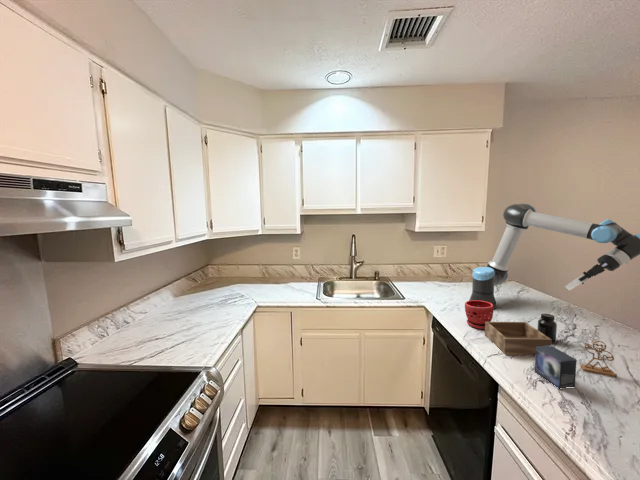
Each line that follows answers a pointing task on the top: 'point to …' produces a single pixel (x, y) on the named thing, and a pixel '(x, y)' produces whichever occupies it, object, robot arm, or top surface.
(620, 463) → the top surface
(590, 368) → the gingerbread man figurine
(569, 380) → the small box
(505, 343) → the walnut box
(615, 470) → the top surface
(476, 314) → the plant pot
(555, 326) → the supplement bottle
